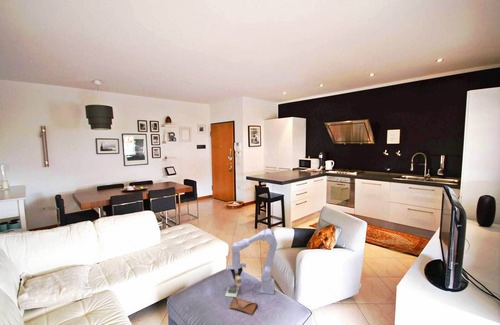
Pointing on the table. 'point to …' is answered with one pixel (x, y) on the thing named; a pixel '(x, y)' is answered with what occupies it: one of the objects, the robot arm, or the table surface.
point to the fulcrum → (232, 292)
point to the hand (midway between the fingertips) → (236, 278)
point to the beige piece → (237, 279)
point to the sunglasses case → (243, 306)
